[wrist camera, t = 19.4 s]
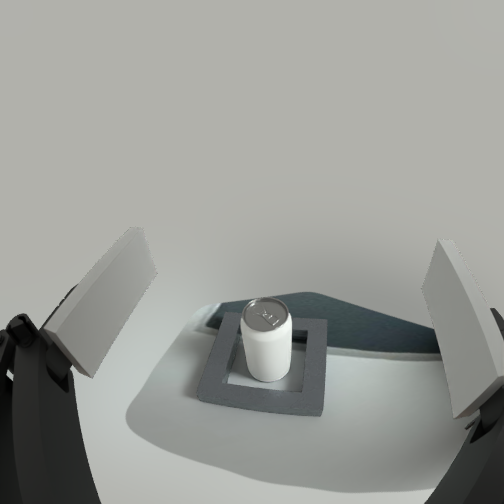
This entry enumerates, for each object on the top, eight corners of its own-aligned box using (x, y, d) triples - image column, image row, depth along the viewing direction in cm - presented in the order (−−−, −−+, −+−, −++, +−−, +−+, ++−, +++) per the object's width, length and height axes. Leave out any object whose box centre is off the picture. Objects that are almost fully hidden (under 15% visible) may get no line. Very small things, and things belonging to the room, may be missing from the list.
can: (268, 342, 44) (264, 287, 37) (299, 363, 40) (303, 310, 33) (239, 366, 40) (227, 314, 33) (269, 391, 36) (266, 343, 29)
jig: (325, 329, 45) (327, 319, 43) (320, 416, 32) (323, 409, 30) (227, 321, 48) (225, 311, 47) (200, 400, 35) (196, 393, 34)
